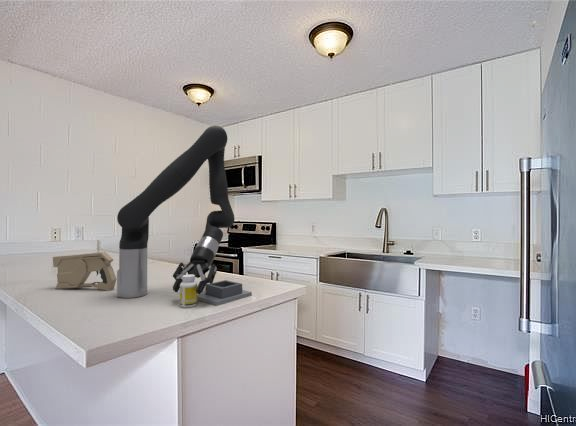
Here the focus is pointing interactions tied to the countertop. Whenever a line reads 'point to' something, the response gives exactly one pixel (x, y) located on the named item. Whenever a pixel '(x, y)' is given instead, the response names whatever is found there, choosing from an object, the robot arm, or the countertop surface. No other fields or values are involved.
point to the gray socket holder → (223, 292)
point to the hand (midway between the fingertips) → (186, 291)
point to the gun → (84, 271)
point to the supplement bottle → (188, 291)
